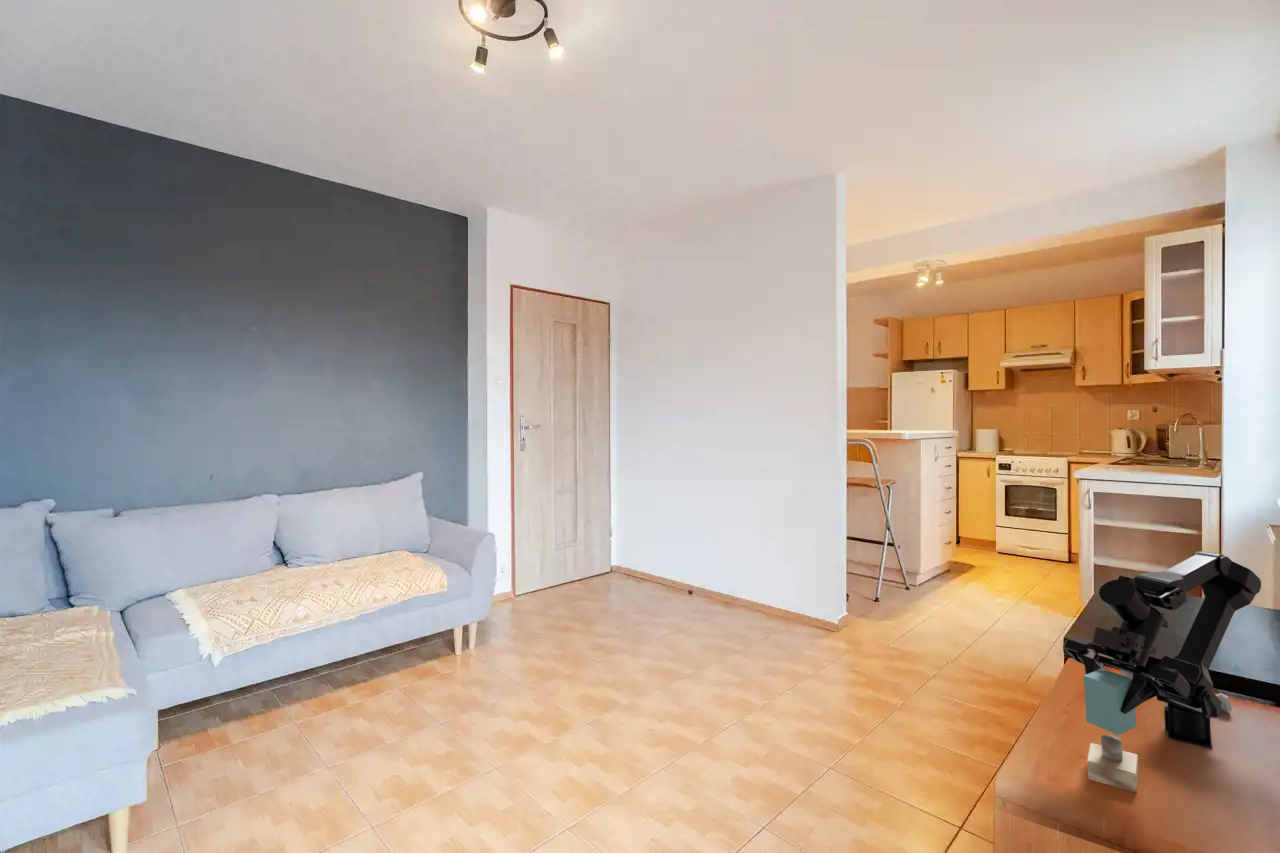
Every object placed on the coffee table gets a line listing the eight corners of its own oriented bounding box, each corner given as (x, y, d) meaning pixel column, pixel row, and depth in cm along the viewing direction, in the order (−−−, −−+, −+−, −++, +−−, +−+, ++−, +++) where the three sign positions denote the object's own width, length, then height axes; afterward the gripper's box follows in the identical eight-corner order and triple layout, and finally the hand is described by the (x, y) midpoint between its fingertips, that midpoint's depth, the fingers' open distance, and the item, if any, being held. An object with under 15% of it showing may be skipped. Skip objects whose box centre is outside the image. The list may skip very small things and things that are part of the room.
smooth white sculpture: (1181, 714, 131) (1181, 698, 135) (1233, 724, 126) (1230, 706, 130) (1180, 698, 130) (1179, 682, 134) (1231, 707, 125) (1229, 690, 128)
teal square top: (1103, 713, 115) (1101, 668, 115) (1136, 726, 110) (1133, 679, 110) (1086, 721, 113) (1083, 675, 113) (1118, 735, 108) (1115, 687, 108)
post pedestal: (1138, 772, 112) (1136, 736, 111) (1136, 792, 106) (1134, 754, 106) (1091, 760, 116) (1089, 725, 116) (1088, 778, 111) (1086, 742, 111)
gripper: (1065, 598, 121) (1033, 664, 117) (1177, 626, 104) (1143, 705, 100) (1092, 627, 124) (1061, 693, 121) (1204, 659, 107) (1173, 737, 103)
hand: (1105, 705), depth 111 cm, fingers closed on teal square top, 5 cm apart
